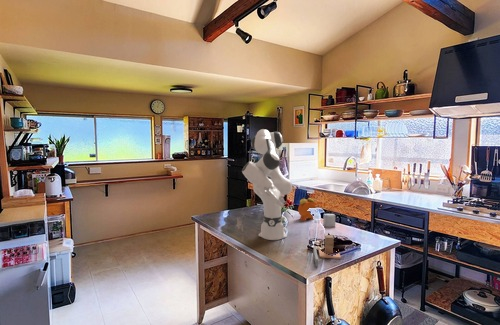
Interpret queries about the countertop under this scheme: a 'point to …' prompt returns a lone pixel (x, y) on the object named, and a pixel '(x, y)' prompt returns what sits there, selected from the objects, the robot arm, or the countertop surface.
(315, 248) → the acrylic wall
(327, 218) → the medicine box
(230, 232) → the countertop surface
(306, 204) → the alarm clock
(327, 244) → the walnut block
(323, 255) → the pad
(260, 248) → the countertop surface
